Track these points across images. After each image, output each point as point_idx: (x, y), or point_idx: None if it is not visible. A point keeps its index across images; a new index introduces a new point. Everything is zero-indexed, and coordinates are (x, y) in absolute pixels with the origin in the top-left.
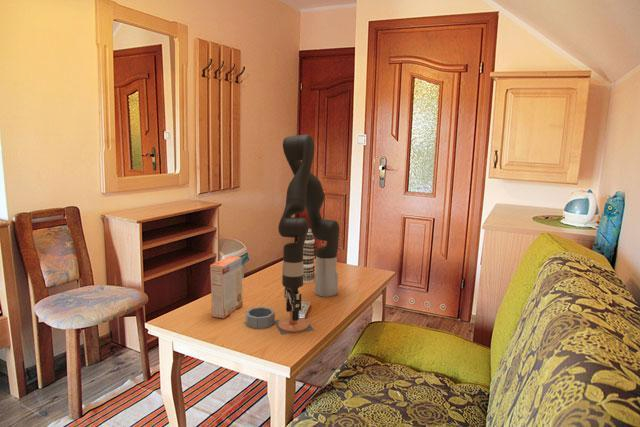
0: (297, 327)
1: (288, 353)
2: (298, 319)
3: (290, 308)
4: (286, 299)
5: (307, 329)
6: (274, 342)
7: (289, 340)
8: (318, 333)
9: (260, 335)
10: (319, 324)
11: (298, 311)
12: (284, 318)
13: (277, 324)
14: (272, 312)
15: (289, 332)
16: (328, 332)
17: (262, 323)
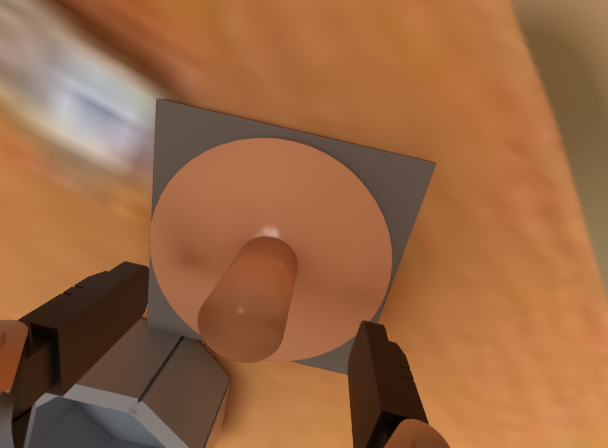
0: (351, 275)
1: (559, 426)
2: (382, 325)
3: (126, 296)
4: (16, 445)
5: (393, 205)
6: None
7: (433, 358)
8: (479, 145)
9: (287, 436)
10: (336, 34)
11: (402, 405)
12: (160, 277)
13: None
14: (126, 408)
15: None
16: (525, 51)
17: (213, 443)
